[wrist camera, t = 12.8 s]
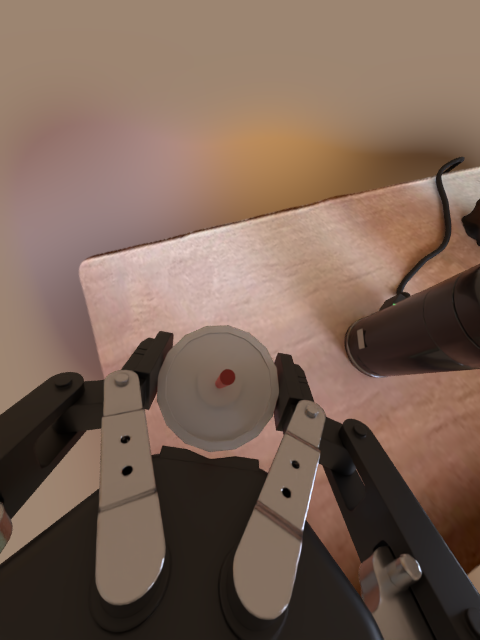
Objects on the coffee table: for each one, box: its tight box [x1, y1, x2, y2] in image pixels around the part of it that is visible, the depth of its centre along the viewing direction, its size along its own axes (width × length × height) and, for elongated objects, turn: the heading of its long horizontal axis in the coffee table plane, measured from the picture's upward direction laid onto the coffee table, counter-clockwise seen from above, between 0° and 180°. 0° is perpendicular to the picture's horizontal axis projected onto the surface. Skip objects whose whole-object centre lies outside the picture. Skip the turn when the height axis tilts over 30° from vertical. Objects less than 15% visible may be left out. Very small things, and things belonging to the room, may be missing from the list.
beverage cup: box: [157, 325, 279, 452], centre depth 14 cm, size 6×6×14 cm
